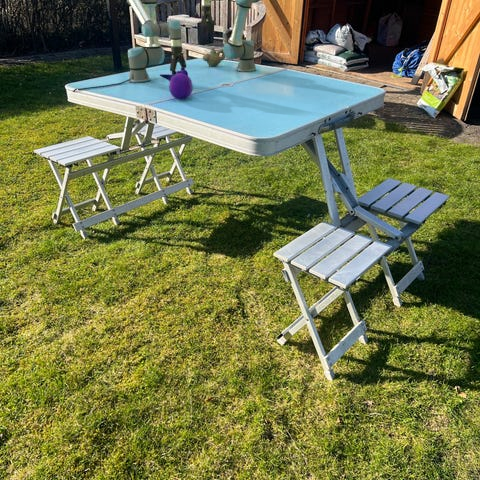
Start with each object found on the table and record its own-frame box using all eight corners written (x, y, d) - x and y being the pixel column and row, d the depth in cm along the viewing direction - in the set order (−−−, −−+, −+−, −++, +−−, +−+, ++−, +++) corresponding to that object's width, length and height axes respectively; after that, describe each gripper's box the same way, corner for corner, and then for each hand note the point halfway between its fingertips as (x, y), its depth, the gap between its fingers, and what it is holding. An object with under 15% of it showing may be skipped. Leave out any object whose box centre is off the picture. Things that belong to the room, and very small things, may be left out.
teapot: (206, 68, 381) (205, 49, 373) (200, 66, 390) (199, 47, 382) (228, 65, 390) (227, 47, 383) (221, 64, 399) (221, 45, 391)
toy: (183, 91, 304) (192, 105, 283) (157, 86, 297) (165, 100, 276) (187, 67, 296) (198, 79, 275) (161, 62, 289) (170, 74, 268)
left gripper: (172, 48, 288) (175, 83, 299) (189, 43, 308) (191, 76, 319) (162, 48, 290) (165, 82, 301) (179, 43, 310) (182, 75, 321)
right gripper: (204, 6, 349) (205, 36, 360) (216, 5, 370) (217, 33, 380) (195, 6, 352) (197, 36, 362) (208, 5, 372) (209, 33, 383)
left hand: (179, 79), depth 310 cm, fingers open, 13 cm apart
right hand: (207, 34), depth 371 cm, fingers open, 13 cm apart
